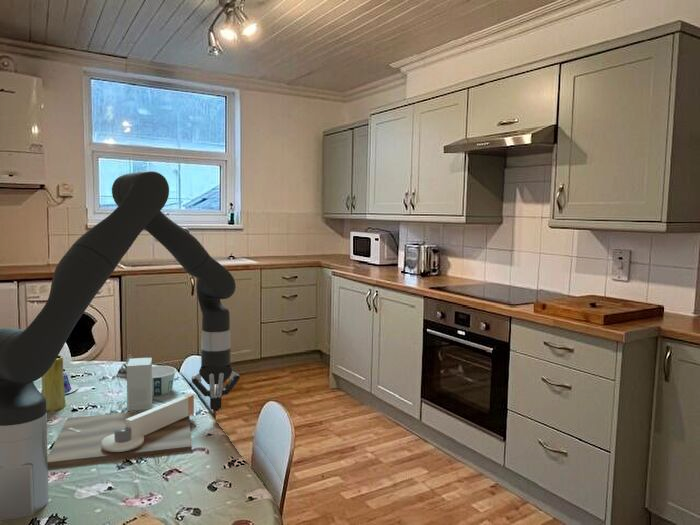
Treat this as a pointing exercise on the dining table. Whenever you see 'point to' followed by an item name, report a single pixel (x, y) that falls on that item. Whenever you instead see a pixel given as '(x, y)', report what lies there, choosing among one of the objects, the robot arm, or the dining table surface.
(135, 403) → the small box
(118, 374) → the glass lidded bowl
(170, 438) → the board
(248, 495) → the dining table surface
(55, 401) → the vase
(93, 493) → the dining table surface
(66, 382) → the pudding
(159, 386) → the food container
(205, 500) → the dining table surface
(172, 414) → the white pivot lever
